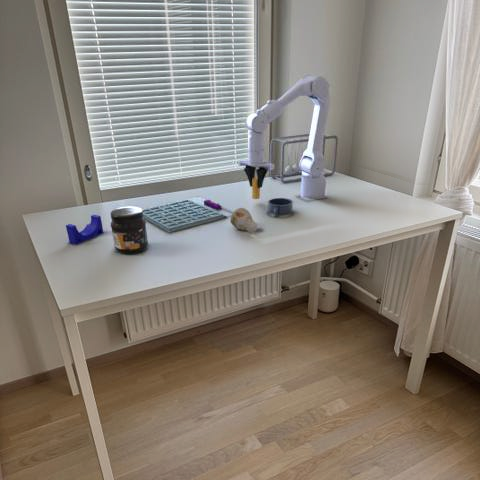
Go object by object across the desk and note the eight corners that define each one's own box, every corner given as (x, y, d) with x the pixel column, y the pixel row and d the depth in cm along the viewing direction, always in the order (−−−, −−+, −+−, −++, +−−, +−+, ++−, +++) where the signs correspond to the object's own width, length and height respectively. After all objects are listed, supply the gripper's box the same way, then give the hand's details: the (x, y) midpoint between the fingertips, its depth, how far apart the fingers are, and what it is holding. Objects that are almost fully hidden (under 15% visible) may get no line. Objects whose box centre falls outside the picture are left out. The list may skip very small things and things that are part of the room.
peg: (257, 196, 180) (257, 176, 176) (261, 198, 177) (261, 178, 173) (250, 197, 178) (250, 177, 174) (254, 199, 176) (254, 179, 172)
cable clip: (94, 230, 158) (91, 213, 155) (103, 232, 156) (100, 215, 153) (66, 242, 150) (62, 224, 147) (75, 244, 148) (72, 226, 145)
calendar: (133, 212, 175) (132, 206, 173) (196, 197, 189) (196, 191, 188) (169, 232, 156) (168, 225, 155) (236, 214, 170) (236, 208, 169)
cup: (271, 208, 176) (271, 197, 173) (294, 210, 173) (295, 199, 171) (263, 218, 166) (263, 206, 164) (287, 221, 164) (288, 208, 161)
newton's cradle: (321, 170, 224) (324, 131, 215) (335, 175, 217) (338, 135, 207) (269, 178, 213) (270, 138, 203) (281, 183, 205) (282, 142, 196)
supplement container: (110, 255, 140) (104, 217, 134) (120, 241, 149) (114, 205, 143) (144, 255, 140) (139, 217, 133) (152, 242, 149) (147, 205, 142)
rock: (249, 238, 151) (235, 210, 148) (237, 241, 160) (224, 215, 157) (266, 228, 153) (253, 200, 151) (254, 232, 162) (241, 206, 160)
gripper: (233, 149, 169) (234, 186, 176) (268, 153, 162) (267, 191, 169) (243, 146, 174) (244, 182, 181) (277, 150, 167) (276, 187, 174)
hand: (255, 186), depth 176 cm, fingers closed on peg, 3 cm apart
